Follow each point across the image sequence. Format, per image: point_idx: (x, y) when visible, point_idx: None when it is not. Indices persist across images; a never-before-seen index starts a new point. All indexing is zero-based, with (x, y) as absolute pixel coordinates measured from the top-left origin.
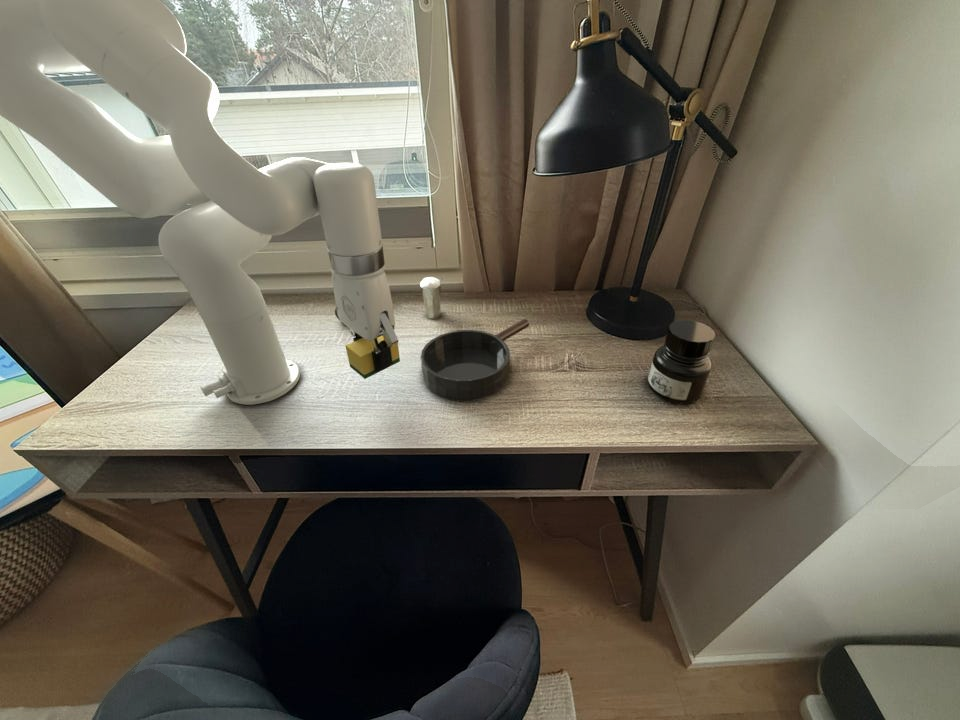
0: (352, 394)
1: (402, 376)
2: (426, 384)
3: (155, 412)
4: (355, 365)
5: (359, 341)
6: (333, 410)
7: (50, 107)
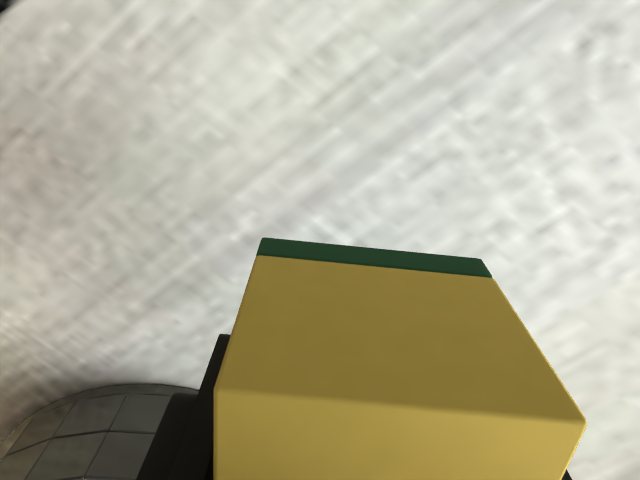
0: (452, 167)
1: None
2: None
3: None
4: (383, 283)
5: None
6: (440, 16)
7: None
